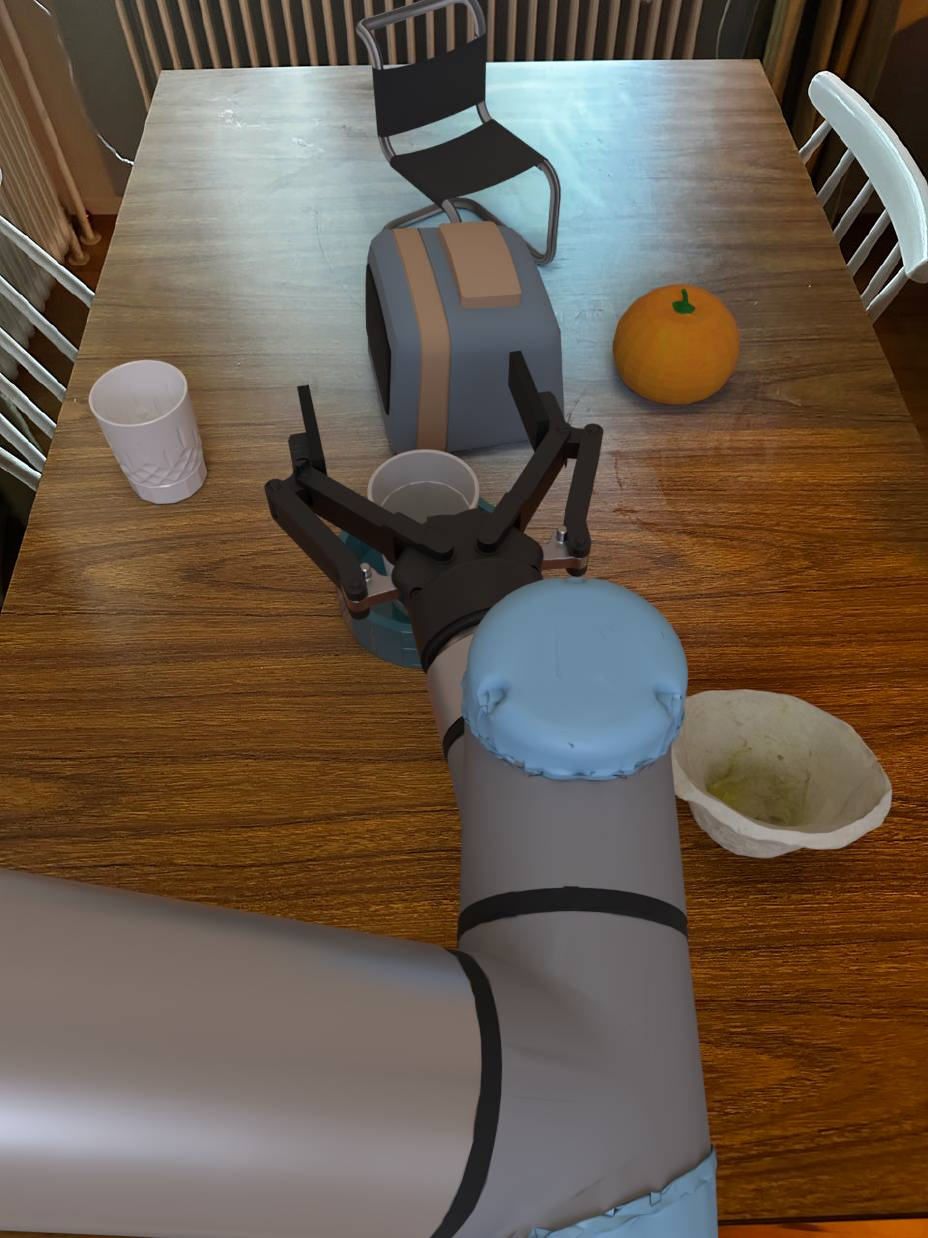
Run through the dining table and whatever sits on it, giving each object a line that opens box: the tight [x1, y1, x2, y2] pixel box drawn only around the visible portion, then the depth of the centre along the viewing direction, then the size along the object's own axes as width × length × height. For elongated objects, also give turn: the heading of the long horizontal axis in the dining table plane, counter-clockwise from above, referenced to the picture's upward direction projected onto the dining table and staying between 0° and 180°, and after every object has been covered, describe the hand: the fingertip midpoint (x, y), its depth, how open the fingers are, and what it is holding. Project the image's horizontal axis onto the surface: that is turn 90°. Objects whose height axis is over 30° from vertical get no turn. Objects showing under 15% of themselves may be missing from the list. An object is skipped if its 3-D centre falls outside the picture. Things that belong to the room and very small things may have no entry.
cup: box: [366, 449, 480, 617], centre depth 73 cm, size 8×8×12 cm
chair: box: [355, 0, 562, 266], centre depth 95 cm, size 13×17×22 cm
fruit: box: [611, 283, 741, 406], centre depth 88 cm, size 12×12×10 cm
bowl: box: [671, 688, 893, 859], centre depth 63 cm, size 15×14×10 cm
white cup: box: [88, 359, 208, 505], centre depth 81 cm, size 8×8×10 cm
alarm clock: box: [364, 220, 565, 455], centre depth 85 cm, size 16×16×16 cm
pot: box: [335, 496, 496, 670], centre depth 76 cm, size 15×15×5 cm
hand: (411, 384), depth 61 cm, fingers open, 13 cm apart
